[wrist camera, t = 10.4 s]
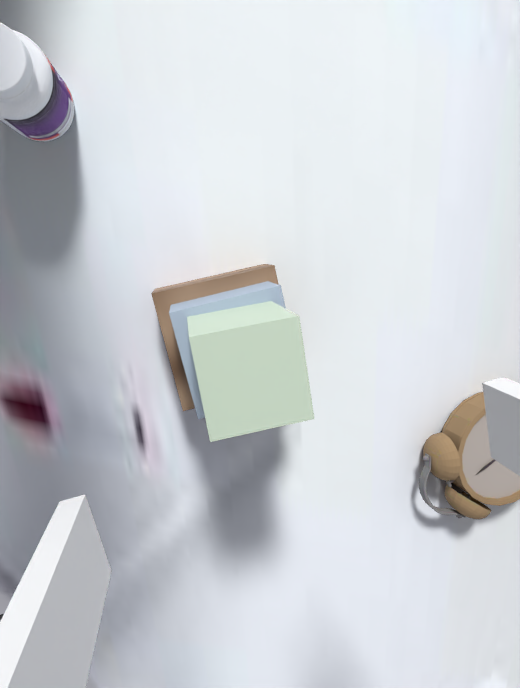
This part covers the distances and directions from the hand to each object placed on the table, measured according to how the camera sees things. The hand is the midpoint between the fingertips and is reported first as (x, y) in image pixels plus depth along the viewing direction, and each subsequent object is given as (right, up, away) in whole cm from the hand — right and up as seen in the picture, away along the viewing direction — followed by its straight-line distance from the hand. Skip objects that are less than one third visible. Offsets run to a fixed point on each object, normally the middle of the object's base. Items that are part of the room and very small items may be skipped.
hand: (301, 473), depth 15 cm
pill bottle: (-19, +23, +22) cm, 37 cm away
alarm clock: (+21, -7, +35) cm, 41 cm away
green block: (-3, +4, +18) cm, 19 cm away
